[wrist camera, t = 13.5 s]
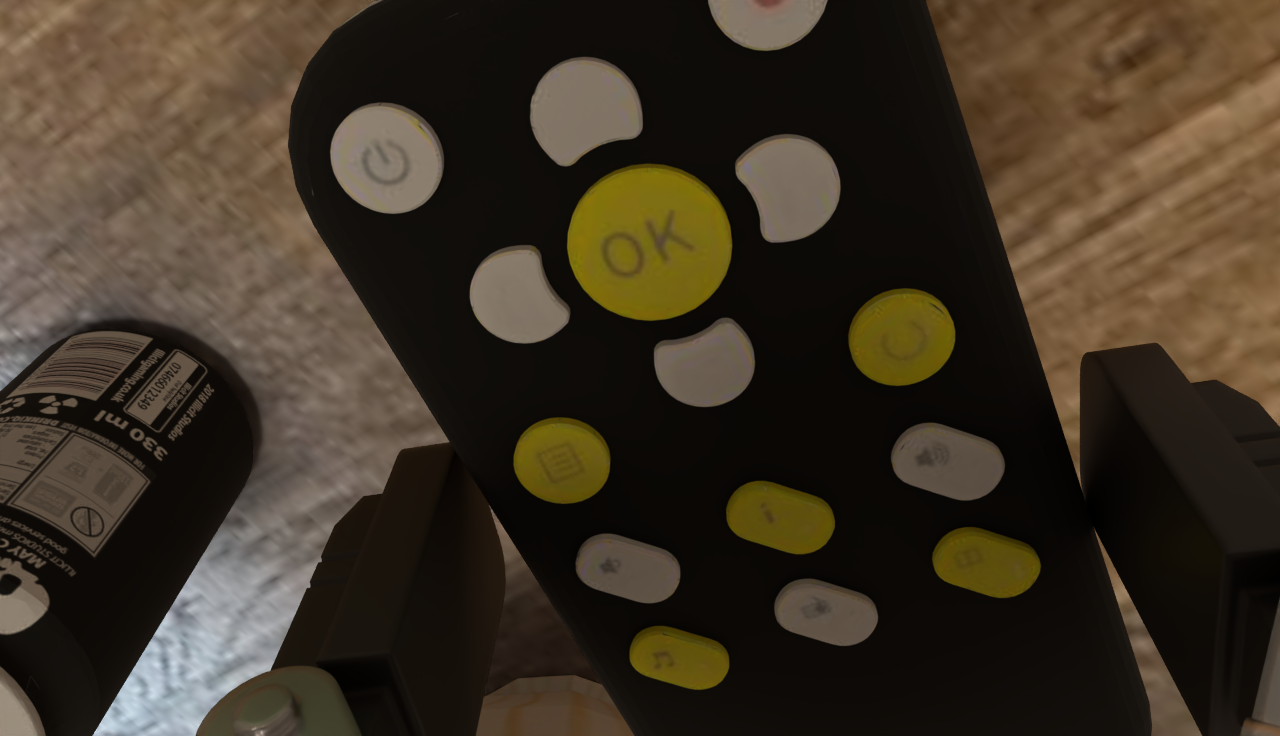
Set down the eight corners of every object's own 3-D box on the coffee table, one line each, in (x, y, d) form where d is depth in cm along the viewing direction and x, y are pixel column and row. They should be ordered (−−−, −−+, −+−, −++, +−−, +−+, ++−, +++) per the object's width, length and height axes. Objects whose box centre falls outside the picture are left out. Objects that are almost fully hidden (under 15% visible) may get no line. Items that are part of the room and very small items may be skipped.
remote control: (730, 814, 17) (735, 935, 15) (269, 45, 12) (197, 99, 10) (1139, 703, 16) (1195, 823, 14) (834, -233, 10) (865, -228, 8)
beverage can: (128, 537, 35) (-115, 875, 24) (-13, 366, 32) (-356, 664, 21) (306, 466, 33) (130, 793, 23) (174, 280, 30) (-97, 554, 20)
